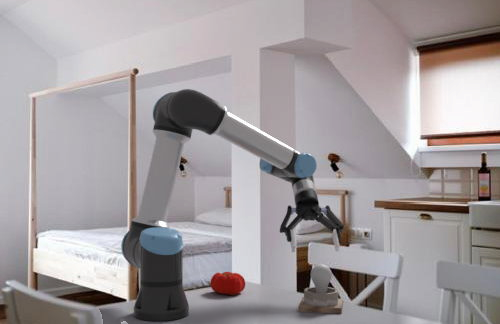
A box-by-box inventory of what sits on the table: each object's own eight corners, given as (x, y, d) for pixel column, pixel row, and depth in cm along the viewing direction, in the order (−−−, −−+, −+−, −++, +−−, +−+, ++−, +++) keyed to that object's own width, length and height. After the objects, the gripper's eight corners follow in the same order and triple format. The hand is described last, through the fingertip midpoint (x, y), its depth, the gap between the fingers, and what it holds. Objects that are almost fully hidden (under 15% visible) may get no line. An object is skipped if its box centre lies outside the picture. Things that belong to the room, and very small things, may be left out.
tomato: (225, 288, 203) (225, 269, 203) (250, 293, 196) (250, 273, 196) (204, 293, 196) (204, 273, 196) (229, 298, 188) (229, 277, 188)
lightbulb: (331, 305, 173) (331, 266, 173) (309, 304, 174) (309, 265, 174) (332, 300, 179) (332, 262, 179) (311, 299, 180) (311, 262, 180)
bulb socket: (298, 311, 172) (298, 293, 172) (302, 301, 183) (302, 285, 183) (341, 313, 169) (341, 295, 169) (342, 303, 181) (342, 286, 181)
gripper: (340, 204, 204) (353, 255, 189) (266, 204, 201) (273, 257, 186) (344, 188, 198) (358, 240, 184) (269, 189, 195) (276, 241, 181)
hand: (315, 249), depth 185 cm, fingers open, 13 cm apart
